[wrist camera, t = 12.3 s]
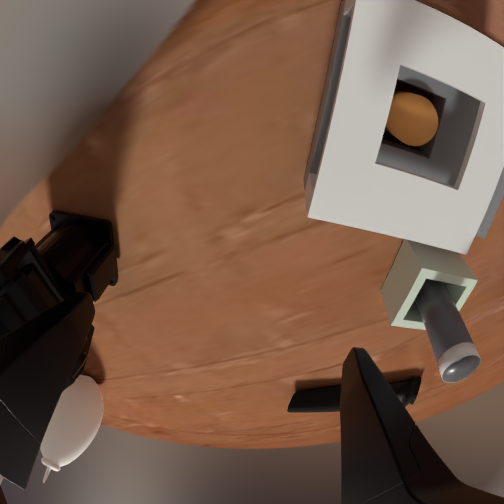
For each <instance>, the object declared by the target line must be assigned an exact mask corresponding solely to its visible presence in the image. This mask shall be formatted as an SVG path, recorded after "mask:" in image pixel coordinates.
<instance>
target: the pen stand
mask: <svg viewBox="0 0 504 504" xmlns="http://www.w3.org/2000/svg"><path fill="white" fill-rule="evenodd" d="M426 279H431V280H436V281H441V282H444V284H445V286H446V288H447V290H448V292H449V294H450V296H451V297H452V299H453V301H454V303H455V305H456V307H457V309H458V311H459V310H460V309H461V307H462V306H463V304H464V302H465V301H466V299H467V298H468V296H469V294H470V293H471V291H472V289H473V288H474V286H475V284H476V283H477V281H478V280H477V278H476V277H475V275H474V274H473V272H472V271H471V269H470V268H469V266H468V265H467V263H466V262H465V260H464V259H463V257H462V256H461V255H460V253H458V252H454V251H450V250H446V249H442V248H439V247H435V246H431V245H427V244H423V243H419V242H415V241H411V240H407V239H404V240H403V243H402V245H401V247H400V249H399V252H398V254H397V256H396V258H395V261H394V263H393V265H392V267H391V269H390V272H389V274H388V276H387V278H386V280H385V282H384V284H383V286H382V288H381V294H382V297H383V300H384V304H385V307H386V311H387V314H388V317H389V321H390V324H391V326H399V327H407V328H414V329H423V330H426V328H425V325H424V323H423V320H422V317H421V315H420V312H419V310H418V307H417V304H416V302H415V298H416V296H417V294H418V293H419V291H420V289H421V287H422V285H423V283H424V282H425V280H426Z"/></svg>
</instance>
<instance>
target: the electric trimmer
mask: <svg viewBox="0 0 504 504" xmlns="http://www.w3.org/2000/svg"><path fill="white" fill-rule="evenodd" d="M417 380H418V381H417ZM420 384H421V377H419V378H417V377H416V376H414V377H413V378H412V379H411V380H410V381H406V382H400V383H393V384H389V385H390V386H391V388H392V389H393V391H394V392H395V394H396V395H397V396H398V398H399V399H400V401H401V402H402V404H403V405H404V407H406V406H407V405H408V404H409V403H410V404H412V405H413V403H414V401H415V399H416V397H417V394H418V391H419V388H420ZM340 399H341V386H336V387H329V388H322V389H316V390H309V391H301V392H296V393H294V395H293V397H292V399H291V401H290V403H289V406H288V410H287V411H288V412H338V411H340Z"/></svg>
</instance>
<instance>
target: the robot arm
mask: <svg viewBox="0 0 504 504" xmlns="http://www.w3.org/2000/svg"><path fill="white" fill-rule="evenodd" d="M54 216H55V217H54ZM49 218H50V224H51V231H50V232H49V233H48V234H47V235H45V236H44V237H43V238H42V239H41V240H40V241H39V242H38V243H37V244H36V245H34V244H35V243H34V241H33V240H32V238H29V239H27V240H26V241H22V240H19V239H18V238H16V237H13V238H11V239H10V240H9V241H8V242H7V243H5V244H4V245H3V246H2V247H1V248H0V484H1V482H2V479H3V477H4V478H5V479H7V480H9V481H10V482H12V483H14V484H15V485H17V486H19V487H20V488H22V489H24V490H25V488H26V486H27V483H28V480H29V477H30V474H31V471H32V468H33V465H34V462H35V460H36V457H37V454H38V451H39V449H40V446H41V443H42V440H43V438H44V435H45V433H46V430H47V427H48V425H49V422H50V420H51V418H52V415H53V413H54V410H55V408H56V406H57V403H58V401H59V399H60V396H61V394H62V392H63V391H64V390H65V389H66V388H68V387H69V386H71V385H72V384H73V383H74V382H75V380H76V379H77V378H78V376H79V375H80V374H81V372H82V370H83V368H84V366H85V363H86V359H87V355H88V351H89V347H90V343H91V339H92V336H93V332H94V326H93V325H92V321H93V319H94V315H95V308H94V304H93V301H95V302H96V301H97V300H98V299H99V298H100V296H101V295H102V293H103V292H104V290H105V289H106V287H107V286H108V285H111V286H114V285H116V283H117V282H118V278H117V272H118V269H117V260H116V251H115V247H114V243H113V233H112V225H111V223H110V222H109V221H107V220H103V219H98V218H92V217H87V216H82V215H76V214H71V213H65V212H60V211H52V212H51V213H50V214H49ZM104 225H105V226H106V227H107V228H105V226H104ZM112 280H113V281H112ZM340 422H341V477H342V478H341V504H504V498H503V497H500V496H497V495H494V494H491V493H488V492H485V491H482V490H479V489H477V488H474V487H471V486H468V485H466V484H464V483H463V482H461V481H460V480H459V479H457V478H456V477H455V476H454V474H453V473H452V472H451V471H450V469H449V468H448V467H447V466H446V465H445V463H444V462H443V461H442V459H441V458H440V457H439V456H438V454H437V453H436V452H435V451H434V449H433V448H432V447H431V445H430V444H429V443H428V441H427V440H426V438H425V437H424V435H423V434H422V433H421V431H420V430H419V428H418V426H417V425H415V422H414V420H413V419H412V417H411V416H410V414H409V413H408V411H407V410H406V408H405V407H404V405H403V404H402V402H401V401H400V399H399V398H398V396H397V395H396V394H395V392H394V391H393V389H392V388H391V386H390V385H389V383H388V382H387V380H386V379H385V377H384V376H383V374H382V373H381V371H380V370H379V369H378V367H377V366H376V364H375V363H374V361H373V360H372V358H371V357H370V356H369V354H368V353H367V351H366V350H365V349H363V348H357V347H354V348H352V349H351V351H350V352H349V354H348V356H347V358H346V359H345V361H344V363H343V368H342V385H341V399H340ZM0 504H7V502H6V499H5V497H4V494H3V491H2V488H1V485H0Z"/></svg>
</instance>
